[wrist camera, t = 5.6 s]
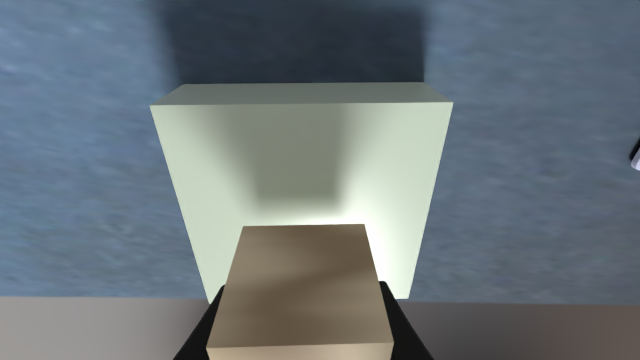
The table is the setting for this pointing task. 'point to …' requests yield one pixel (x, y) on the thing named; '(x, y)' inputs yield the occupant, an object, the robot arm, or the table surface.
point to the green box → (304, 164)
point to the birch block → (302, 297)
